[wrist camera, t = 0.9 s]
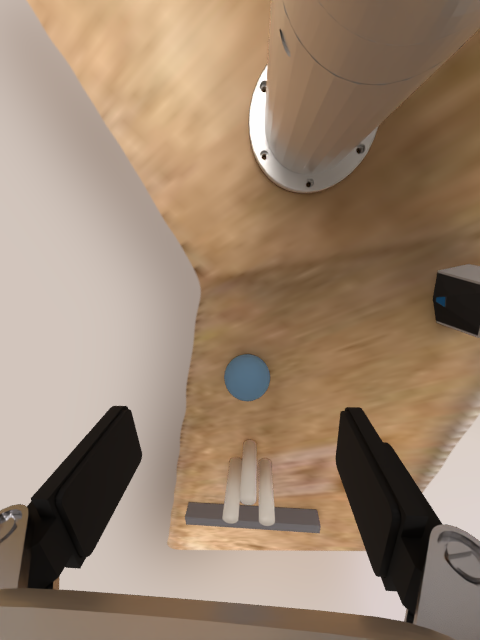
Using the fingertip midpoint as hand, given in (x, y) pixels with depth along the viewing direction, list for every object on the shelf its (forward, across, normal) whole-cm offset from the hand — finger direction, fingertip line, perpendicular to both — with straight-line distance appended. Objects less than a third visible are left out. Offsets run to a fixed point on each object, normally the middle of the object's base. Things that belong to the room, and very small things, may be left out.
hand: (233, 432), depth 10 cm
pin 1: (+21, +4, +28) cm, 35 cm away
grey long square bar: (+21, +1, +40) cm, 45 cm away
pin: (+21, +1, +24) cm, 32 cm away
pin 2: (+21, -2, +28) cm, 35 cm away
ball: (+18, +1, +9) cm, 20 cm away
